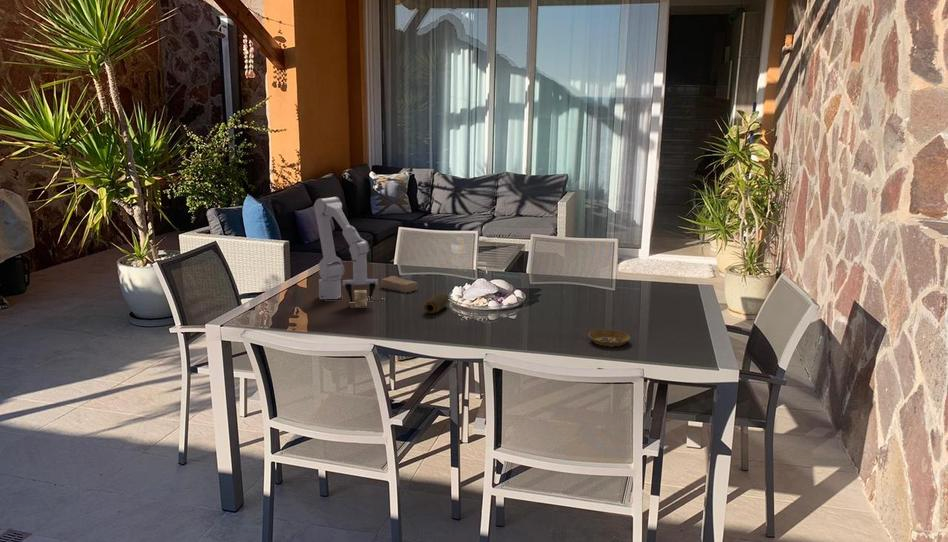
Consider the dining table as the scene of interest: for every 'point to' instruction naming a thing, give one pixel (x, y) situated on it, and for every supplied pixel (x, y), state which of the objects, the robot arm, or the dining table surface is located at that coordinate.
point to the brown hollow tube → (436, 302)
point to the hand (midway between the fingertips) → (360, 301)
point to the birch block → (360, 298)
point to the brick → (399, 284)
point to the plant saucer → (609, 334)
